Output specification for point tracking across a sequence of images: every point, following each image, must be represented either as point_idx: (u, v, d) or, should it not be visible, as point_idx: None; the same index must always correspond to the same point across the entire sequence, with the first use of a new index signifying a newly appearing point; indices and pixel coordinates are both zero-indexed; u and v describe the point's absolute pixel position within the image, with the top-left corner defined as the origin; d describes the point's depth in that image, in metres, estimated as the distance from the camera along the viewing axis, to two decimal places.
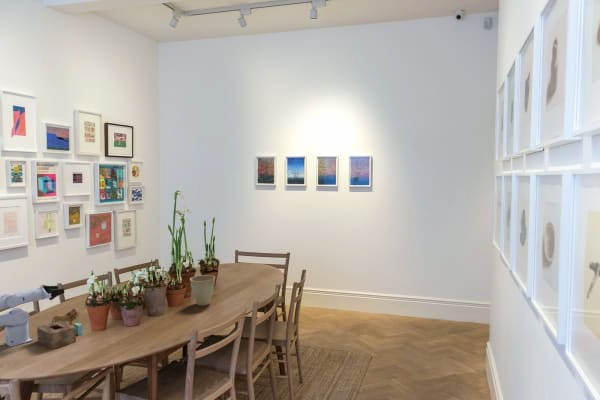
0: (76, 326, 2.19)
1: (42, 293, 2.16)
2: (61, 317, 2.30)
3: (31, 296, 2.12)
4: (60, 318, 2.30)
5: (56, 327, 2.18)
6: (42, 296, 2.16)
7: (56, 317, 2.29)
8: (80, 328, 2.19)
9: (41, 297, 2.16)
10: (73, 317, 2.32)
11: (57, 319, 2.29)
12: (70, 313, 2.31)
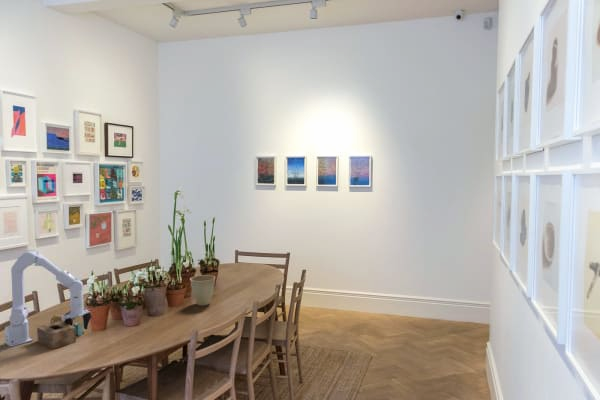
0: (76, 326, 2.19)
1: (72, 313, 2.18)
2: (60, 317, 2.30)
3: (77, 304, 2.18)
4: (59, 318, 2.30)
5: (56, 327, 2.18)
6: (71, 313, 2.19)
7: (55, 317, 2.29)
8: (80, 328, 2.19)
9: (71, 312, 2.19)
10: None
11: (56, 319, 2.29)
12: None
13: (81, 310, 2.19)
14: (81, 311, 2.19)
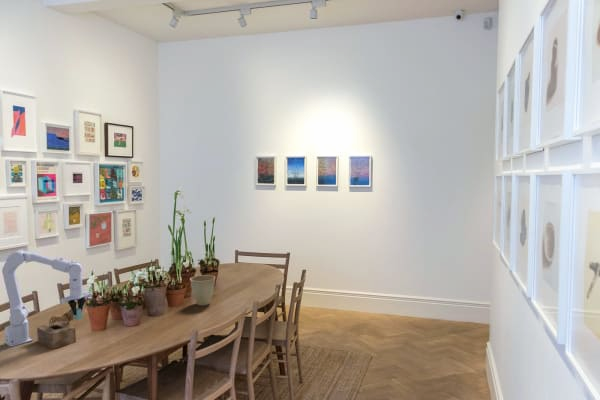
0: None
1: (71, 296, 2.17)
2: (58, 317, 2.29)
3: (76, 286, 2.17)
4: (57, 318, 2.29)
5: (56, 327, 2.18)
6: (70, 295, 2.18)
7: (54, 317, 2.29)
8: (79, 312, 2.19)
9: (70, 294, 2.19)
10: (70, 317, 2.31)
11: (54, 319, 2.29)
12: (68, 314, 2.31)
13: (80, 293, 2.19)
14: (80, 294, 2.19)
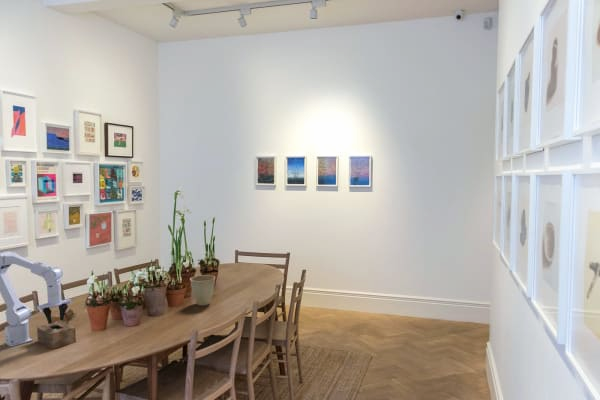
0: None
1: (49, 303, 2.07)
2: (57, 318, 2.29)
3: (51, 293, 2.07)
4: (56, 319, 2.29)
5: (56, 327, 2.18)
6: None
7: (53, 318, 2.29)
8: None
9: None
10: (70, 318, 2.31)
11: (53, 320, 2.28)
12: (67, 314, 2.31)
13: (58, 300, 2.09)
14: (58, 301, 2.09)
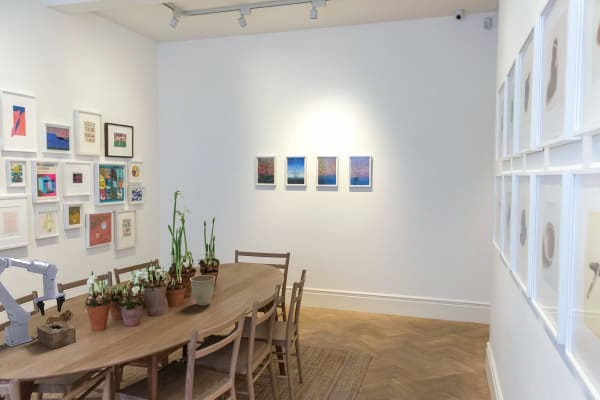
0: None
1: (44, 296, 2.21)
2: (55, 318, 2.29)
3: (53, 286, 2.22)
4: (54, 319, 2.29)
5: (56, 327, 2.18)
6: (43, 296, 2.22)
7: (50, 318, 2.28)
8: None
9: None
10: (67, 318, 2.30)
11: (51, 320, 2.28)
12: (65, 314, 2.30)
13: (54, 293, 2.22)
14: (54, 294, 2.22)
